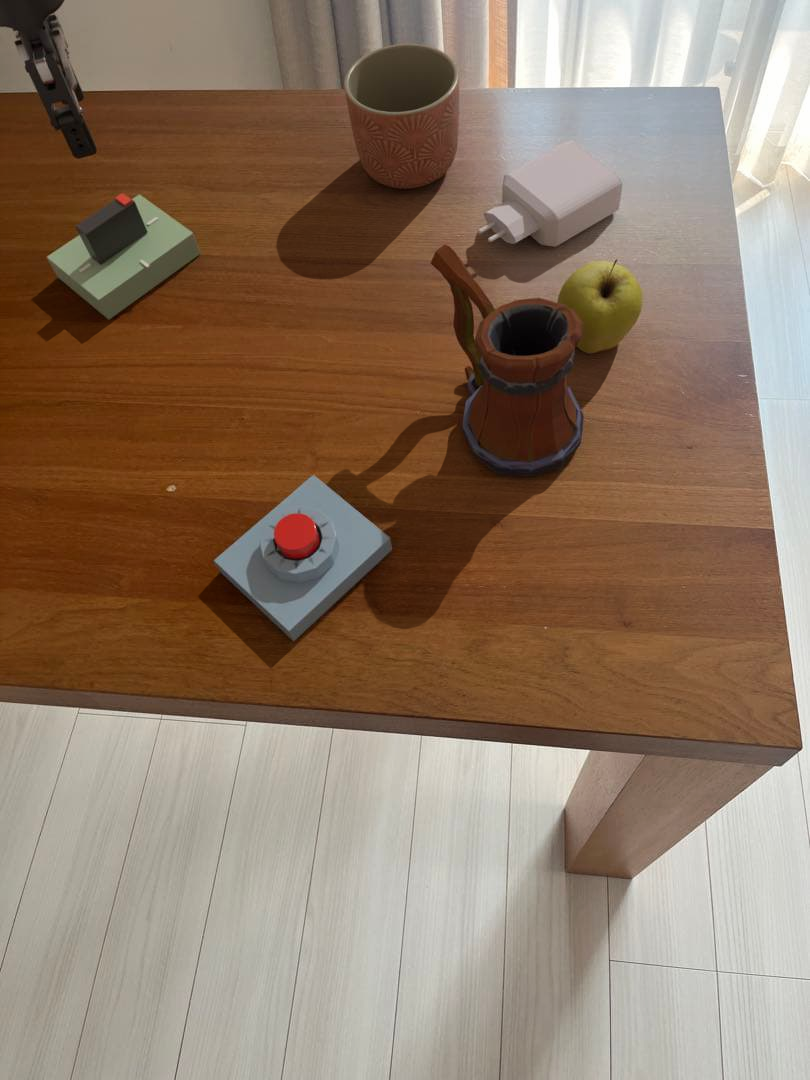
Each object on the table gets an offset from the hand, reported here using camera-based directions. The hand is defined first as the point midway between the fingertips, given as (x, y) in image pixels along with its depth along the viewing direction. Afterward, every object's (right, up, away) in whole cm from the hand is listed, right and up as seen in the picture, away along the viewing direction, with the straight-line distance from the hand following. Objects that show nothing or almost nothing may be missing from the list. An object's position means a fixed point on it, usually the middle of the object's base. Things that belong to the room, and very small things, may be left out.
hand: (79, 127), depth 84 cm
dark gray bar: (-1, -7, +13) cm, 15 cm away
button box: (+22, -41, -5) cm, 47 cm away
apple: (+50, -19, +6) cm, 54 cm away
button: (+22, -39, -8) cm, 45 cm away
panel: (0, -8, +16) cm, 18 cm away
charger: (+46, -4, +14) cm, 48 cm away
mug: (+40, -27, +2) cm, 48 cm away
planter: (+31, +5, +21) cm, 38 cm away
